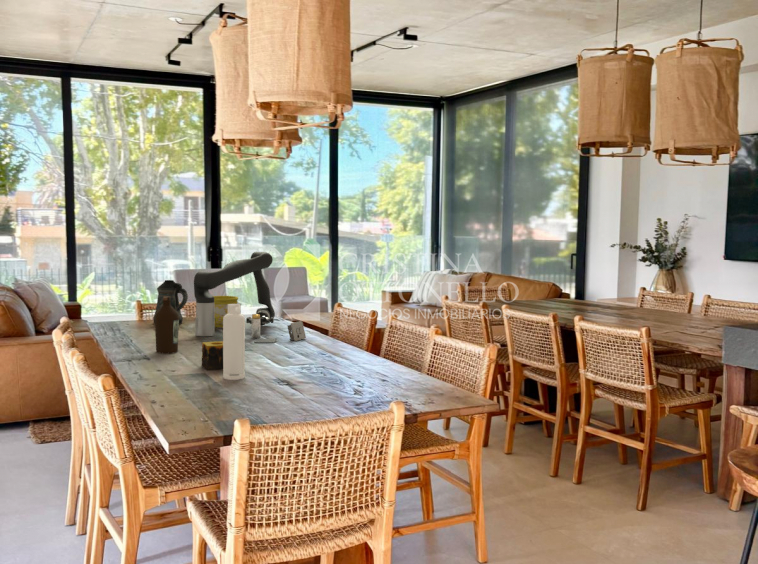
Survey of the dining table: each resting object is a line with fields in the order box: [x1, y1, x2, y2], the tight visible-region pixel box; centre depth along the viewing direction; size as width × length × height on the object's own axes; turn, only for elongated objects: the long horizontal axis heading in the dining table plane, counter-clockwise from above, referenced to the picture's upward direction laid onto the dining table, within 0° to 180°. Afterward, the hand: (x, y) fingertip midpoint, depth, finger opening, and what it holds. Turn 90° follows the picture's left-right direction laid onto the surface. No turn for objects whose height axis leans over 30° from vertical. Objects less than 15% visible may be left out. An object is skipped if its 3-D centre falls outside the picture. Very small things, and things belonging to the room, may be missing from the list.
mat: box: [253, 338, 277, 344], centre depth 353 cm, size 10×10×1 cm
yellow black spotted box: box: [201, 340, 223, 371], centre depth 288 cm, size 10×10×10 cm
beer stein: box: [152, 279, 189, 325], centre depth 409 cm, size 16×19×25 cm
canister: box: [251, 313, 261, 339], centre depth 363 cm, size 4×4×12 cm
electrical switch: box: [286, 320, 307, 342], centre depth 360 cm, size 9×5×9 cm, turn 152°
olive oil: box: [153, 297, 180, 354], centre depth 320 cm, size 11×11×25 cm
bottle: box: [222, 303, 246, 381], centre depth 269 cm, size 8×8×28 cm
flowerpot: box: [212, 295, 239, 328], centre depth 403 cm, size 18×18×16 cm
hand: (258, 321), depth 374 cm, fingers open, 8 cm apart
